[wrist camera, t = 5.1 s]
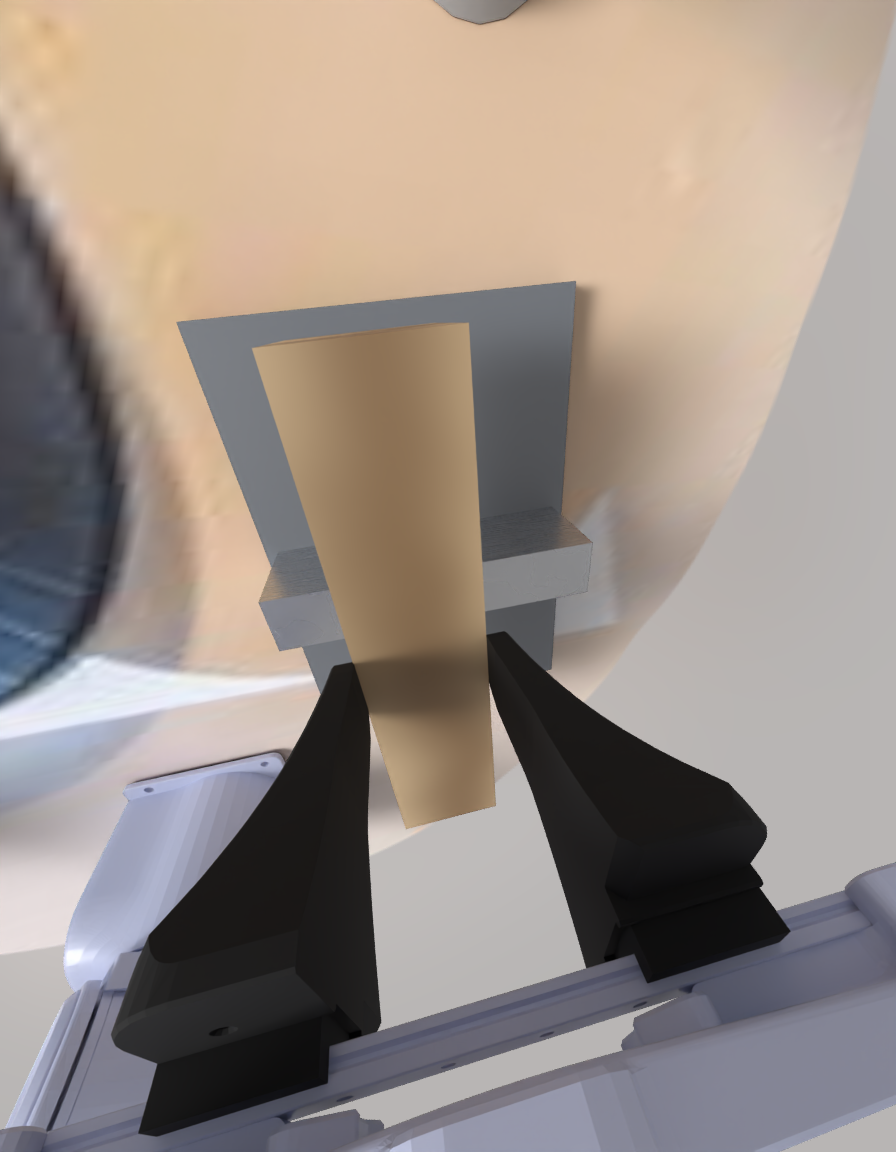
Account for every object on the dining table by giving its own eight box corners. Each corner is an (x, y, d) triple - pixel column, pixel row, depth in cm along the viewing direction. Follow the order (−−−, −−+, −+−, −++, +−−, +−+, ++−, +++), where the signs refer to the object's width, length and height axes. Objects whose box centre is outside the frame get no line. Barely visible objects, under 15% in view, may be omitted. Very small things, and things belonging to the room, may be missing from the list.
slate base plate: (330, 703, 25) (329, 716, 24) (187, 322, 14) (176, 321, 13) (545, 658, 26) (551, 669, 25) (564, 284, 15) (576, 281, 15)
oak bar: (397, 746, 20) (406, 829, 17) (284, 340, 10) (252, 348, 7) (473, 728, 21) (495, 805, 17) (434, 322, 11) (469, 322, 8)
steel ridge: (293, 595, 19) (279, 651, 16) (277, 552, 18) (258, 602, 14) (549, 549, 21) (587, 591, 17) (552, 506, 19) (592, 542, 16)
